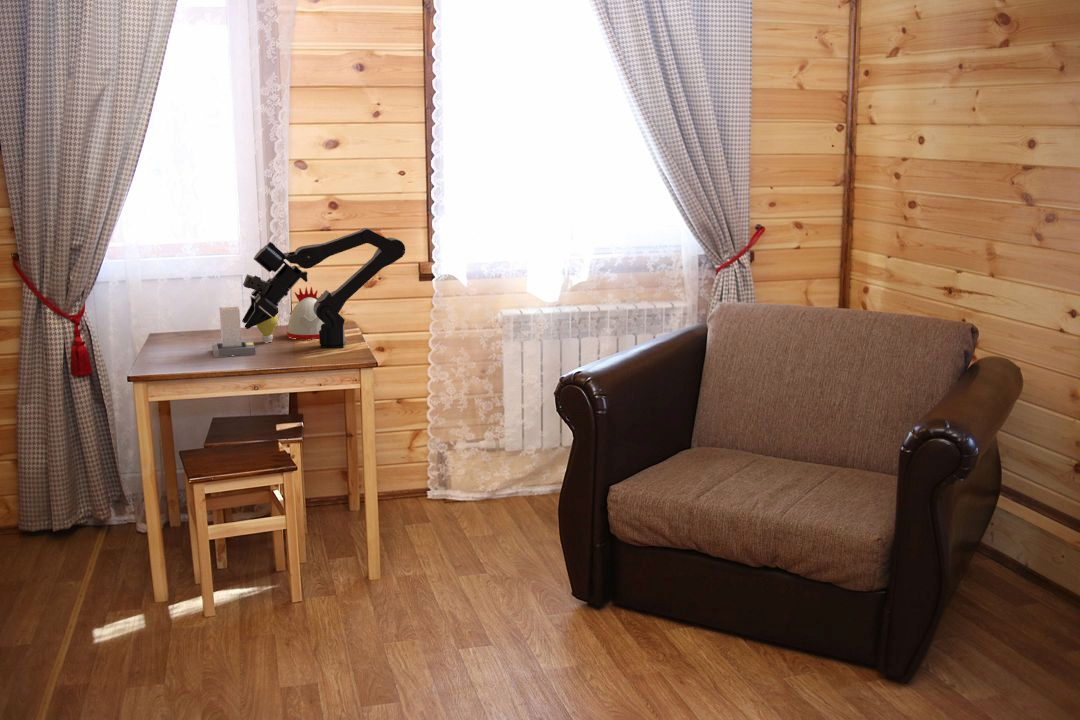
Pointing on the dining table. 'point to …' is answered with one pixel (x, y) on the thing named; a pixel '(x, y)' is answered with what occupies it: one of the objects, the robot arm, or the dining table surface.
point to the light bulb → (268, 328)
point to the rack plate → (234, 349)
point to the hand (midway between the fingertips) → (244, 325)
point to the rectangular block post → (230, 327)
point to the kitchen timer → (304, 317)
